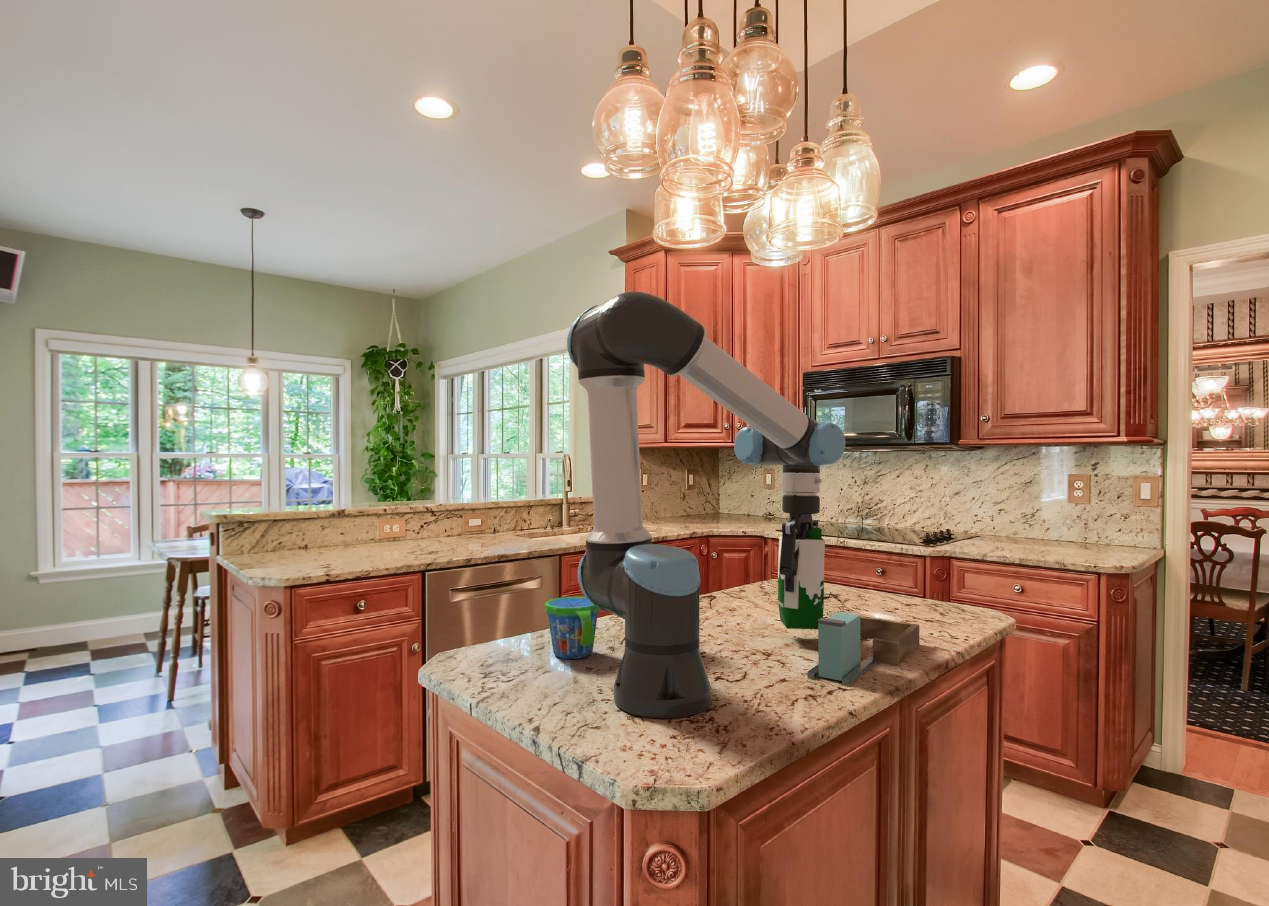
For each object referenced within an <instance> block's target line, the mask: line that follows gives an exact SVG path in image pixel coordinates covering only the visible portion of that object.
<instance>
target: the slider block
mask: <svg viewBox="0 0 1269 906" xmlns="http://www.w3.org/2000/svg"><path fill="white" fill-rule="evenodd" d="M860 616H861V615H860V614H853V613H847V612H840V611H838V612H836V613H834V614H832V615H831V616H829V617H823V618H821V619H819V620H818V629H817V631H818V633H817V635H818V636H817V637H818V640H817V641H818V642H817V643H818V644H817V645H818V647H817V648H818V652H817V654H818V658H817V659H818V660H817V661H818V662H817V663H818V664H819V676H818V677H821V678H825V679H830V680H835V681H838V682H840V681H841V682H842V679H843V678H844V677H845V676H846V675H848V674H849V673H850V672H851V671H852V670H854V669H855V668H856V667H857V666H859V665H860V664H861V663H862V661H861V637H860Z"/></svg>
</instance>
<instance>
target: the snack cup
mask: <svg viewBox="0 0 1269 906" xmlns="http://www.w3.org/2000/svg"><path fill="white" fill-rule="evenodd" d="M544 610H545V612H546V614H547V618H548V620H547V621H548V628H549V633H550V639H551V646H552V650H553V654H554V656H555V657H557V658H560V659H564V660H565V659H566V660H567V659H569V660H571V659H572V660H575V659H583V658H586V657H589V656H590V655H591V654H593V652H594V651H593V650H594V643H595V637H596V629H597V621H598V613H599V611H600V609H599V608H598V607H597V606H595V605H593V604H592V603H591V602H590V601H589V600H588V599H587V598H586V597H585V596H563V597H557V598H552V599H549V600H547V601H546V602H545V604H544Z"/></svg>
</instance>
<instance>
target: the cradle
mask: <svg viewBox="0 0 1269 906" xmlns="http://www.w3.org/2000/svg"><path fill="white" fill-rule="evenodd" d="M860 638H867V639H871V640H872V657H876V663H880V664H887V665H893V666H897V665H898V666H899V665H901V663H902V662H903V661H905V659H907V658H908V656H910V655H911V653H912V652H914V650H916V649H917V648H918V647H919V645H920V624H917V623H911V622H903V621H898V620H897V621H896V620H888V619H883V618H877V617H876V618H875V617H867V616H862V615H860Z"/></svg>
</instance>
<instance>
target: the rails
mask: <svg viewBox="0 0 1269 906" xmlns="http://www.w3.org/2000/svg"><path fill="white" fill-rule="evenodd" d="M876 664H877V662H876V657H873V656H871V655H870V656H868V657H867V658H866V659H865V660H863V661H861V664H860V665H859V666H857V667H856V668H855V669H854V670H852V671H851V672H850V673H849V674H848V675H846V676H845V677H844V678H843V679H842V681H841V685H842V686H846V687H851V686H852V685H853V684H855V683H856V682H857V680H859V679H860V678H861V677H862V676H864V675H865V674H866V673H867V672H868V671H869V670H870V669H871V668H873V666H874V665H876ZM806 673H807V675H806V677H807V678H808V679H813V680H815V679H817V678H818V677H820V676H819V663H818V664H816V665H815V666H813V667H812V668H811V669H809V670H807V672H806Z"/></svg>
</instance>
